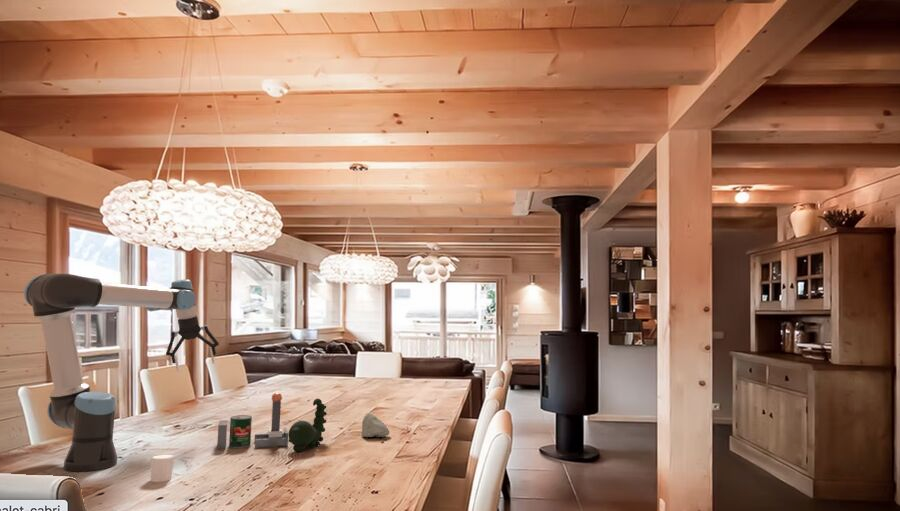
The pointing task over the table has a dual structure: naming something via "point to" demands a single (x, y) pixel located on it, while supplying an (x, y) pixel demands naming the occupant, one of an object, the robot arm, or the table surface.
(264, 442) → the press frame
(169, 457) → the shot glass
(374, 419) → the decorative stone
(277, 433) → the ball-tipped square rod
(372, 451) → the table surface
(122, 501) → the table surface
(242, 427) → the canned tomato
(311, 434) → the toy figurine
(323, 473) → the table surface
